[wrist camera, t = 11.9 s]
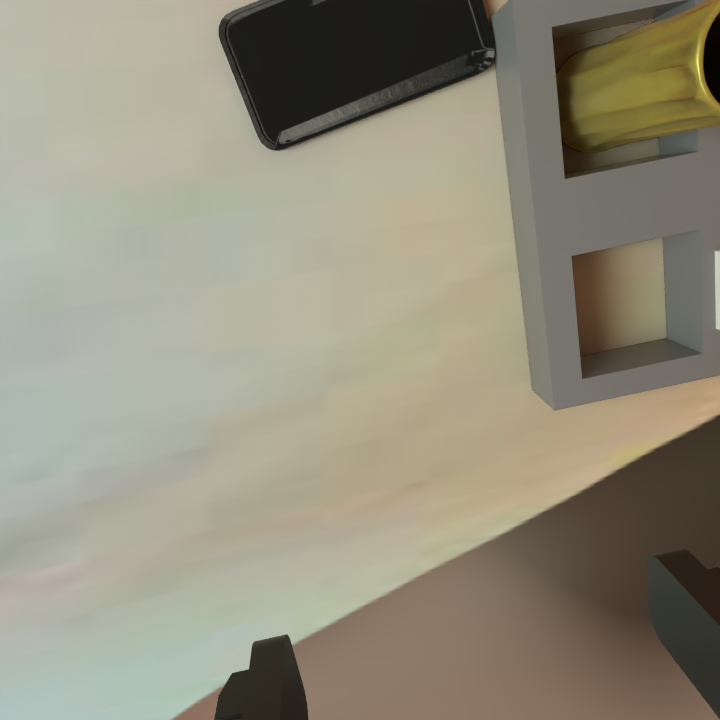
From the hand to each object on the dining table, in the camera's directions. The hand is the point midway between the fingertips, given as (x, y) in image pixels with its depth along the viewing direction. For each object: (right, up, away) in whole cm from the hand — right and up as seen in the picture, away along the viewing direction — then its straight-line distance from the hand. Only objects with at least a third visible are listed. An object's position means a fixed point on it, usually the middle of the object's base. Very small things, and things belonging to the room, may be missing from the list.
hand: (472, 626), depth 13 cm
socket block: (+15, +16, +26) cm, 34 cm away
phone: (-3, +25, +22) cm, 33 cm away
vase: (+12, +22, +24) cm, 35 cm away
